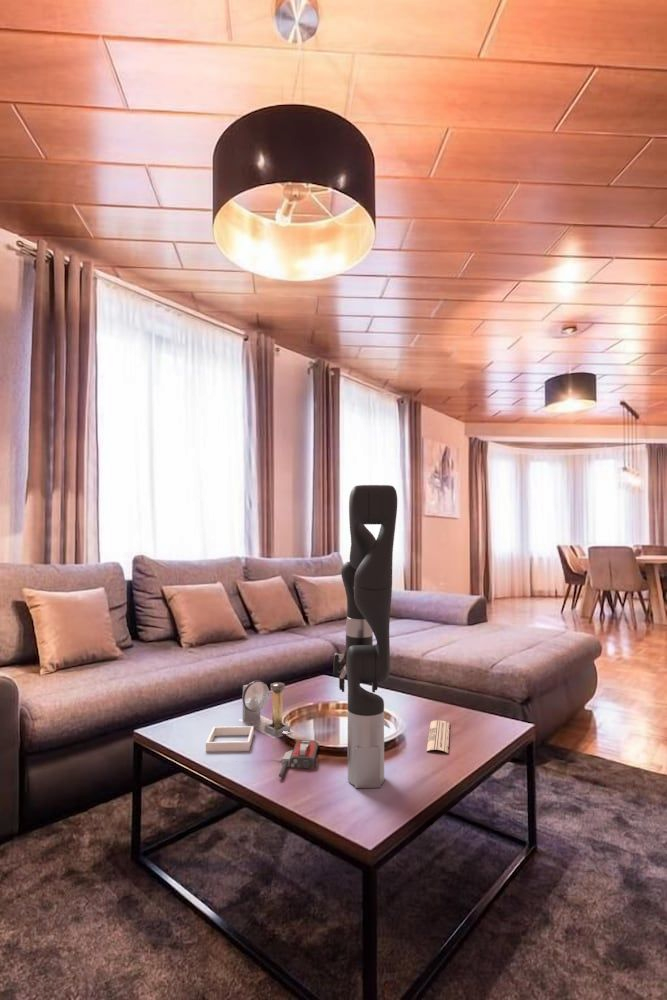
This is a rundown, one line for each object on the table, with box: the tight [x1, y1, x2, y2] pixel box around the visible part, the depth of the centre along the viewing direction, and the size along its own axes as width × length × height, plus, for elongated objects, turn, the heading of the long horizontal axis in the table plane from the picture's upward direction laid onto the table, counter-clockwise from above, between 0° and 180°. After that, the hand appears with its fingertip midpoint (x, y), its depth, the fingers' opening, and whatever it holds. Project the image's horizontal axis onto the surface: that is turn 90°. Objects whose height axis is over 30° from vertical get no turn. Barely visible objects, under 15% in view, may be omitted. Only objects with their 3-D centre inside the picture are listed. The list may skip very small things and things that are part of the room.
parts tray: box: [205, 725, 255, 752], centre depth 155 cm, size 12×12×4 cm
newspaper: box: [426, 719, 451, 754], centre depth 162 cm, size 24×7×2 cm, turn 167°
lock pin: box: [269, 682, 286, 729], centre depth 164 cm, size 4×4×14 cm
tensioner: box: [238, 679, 297, 739], centre depth 168 cm, size 20×10×14 cm, turn 41°
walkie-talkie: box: [278, 739, 319, 778], centre depth 144 cm, size 9×4×20 cm
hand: (358, 691), depth 149 cm, fingers open, 8 cm apart
